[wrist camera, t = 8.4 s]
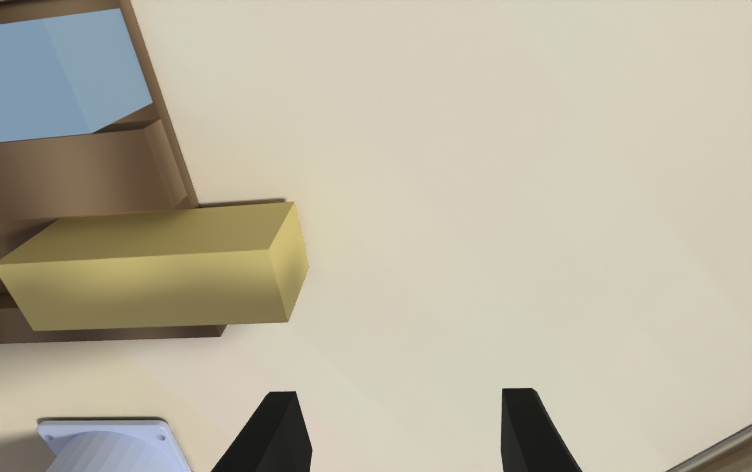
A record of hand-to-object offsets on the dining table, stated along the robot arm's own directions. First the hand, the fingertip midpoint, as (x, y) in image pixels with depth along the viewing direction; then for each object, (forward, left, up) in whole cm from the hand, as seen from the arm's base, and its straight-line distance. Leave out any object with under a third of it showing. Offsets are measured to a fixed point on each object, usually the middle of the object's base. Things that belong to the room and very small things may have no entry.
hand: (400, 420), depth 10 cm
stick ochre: (0, +9, -9) cm, 13 cm away
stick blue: (+7, +14, -9) cm, 18 cm away
